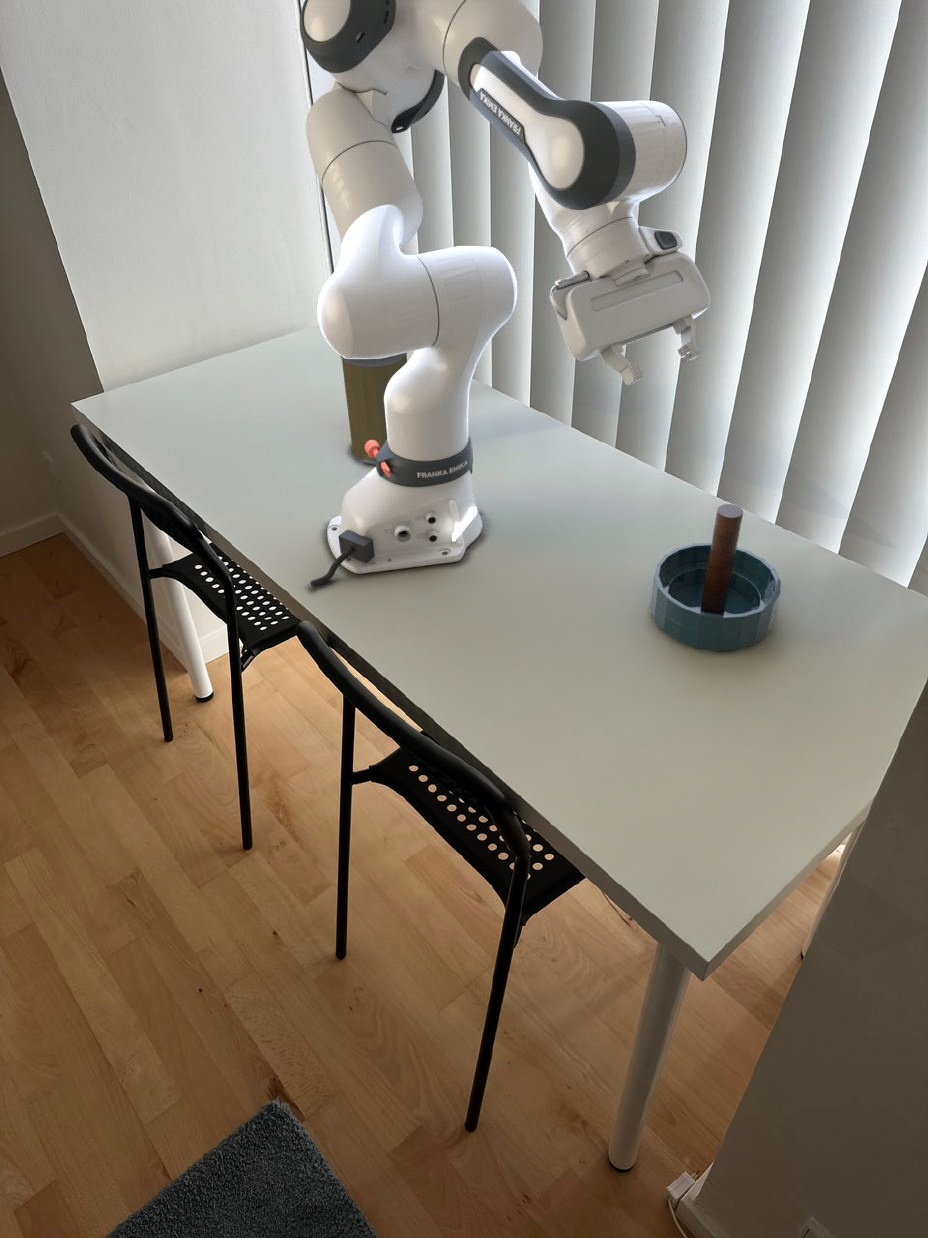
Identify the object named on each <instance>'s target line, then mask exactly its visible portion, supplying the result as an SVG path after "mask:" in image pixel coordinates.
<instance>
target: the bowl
mask: <svg viewBox="0 0 928 1238" xmlns="http://www.w3.org/2000/svg"><path fill="white" fill-rule="evenodd" d="M711 543H712V542H700V543H699V542H698V543H691V544H687V545H682V546H679V547H676V548H673V549H672V550H671V551H669V552H667V553H665V554H664V555H663V556H662V557H661V558H660V559H659V561H658V562H657V563H656V565H655V569H654V574H653V582H652V590H651V597H650V598H651V599H650V606H649V608H650V611H651V616H652V618H653V621H654V622H655V623H656V624H657V625H658V626H659V628H660V629H661V630H662V631H663V632H664V633H666V635H668V636H670V637H672V638H673V639H675V640H676V641H678V642H680V643H683V644H685V645H688V646H691V647H694V648H696V649H702V650H710V651H715V652H716V651H735V650H740V649H742V648H747V647H750V646H753V645H755V644H757V643H758V642H759V641H761V640H763V639H764V638H766V636H768V634H769V632H770V631H771V630H772V628H773V625H774V622H775V619H776V618H775V617H776V612H777V609H778V604H779V601H780V597H781V590H782V589H781V586H782V585H781V583H782V581H781V579H780V577H779V575H778V573H777V571H776V569H775V568H774V567H773V566H772V565H771V564H770V563H769V562H767V561H766V559H764V558H763V557H761V556H760V555H757V554H756V553H753V552H752V551H750V550H748V549H744V548H742V547H738V546H737V549H736V554H735V559H734V564H733V570H732V575H731V580H730V586H729V591H728V596H727V601H726V607H725V612H724V613H723V614H722V615H720V614H713V613H705V612H702V611H701V603H702V597H703V591H704V585H705V579H706V573H707V567H708V561H709V555H710V549H711Z"/></svg>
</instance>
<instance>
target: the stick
mask: <svg viewBox="0 0 928 1238" xmlns="http://www.w3.org/2000/svg"><path fill="white" fill-rule="evenodd" d="M743 516H744V510H743V508H741V507H740V506H739V505H736V504H732V503H723V504H721V505H719V506H718V507H717V509H716V515H715V520H714V524H713V525H714V526H713V532H712V538H711V542H710V543H711V549H710V555H709V561H708V567H707V573H706V579H705V585H704V591H703V597H702V603H701V611H702V612H705V613H713V614H720V615H722V614H723V613H724V612H725V607H726V601H727V596H728V591H729V586H730V580H731V575H732V570H733V564H734V559H735V554H736V549H737V547H738V542H739V537H740V532H741V528H742V521H743V518H744V517H743Z"/></svg>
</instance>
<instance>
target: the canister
mask: <svg viewBox="0 0 928 1238" xmlns="http://www.w3.org/2000/svg"><path fill="white" fill-rule="evenodd" d="M407 355H408V352H406V353H402V354H398V355H394V356H390V357H385V358H378V359H346V358H344V357H342V356H341V355H339V357H340V359H341V364H342V372H343V381H344V390H345V399H346V406H347V415H348V422H349V423H348V424H349V432H350V440H351V447H350V448H351V449H350V450H351V455H352V456H353V457H354V459H356V460H357V461H360V462H361V463H364V464H367V465H373V466H376V463H375V458H371V457H369V455H368V453H367V452H366V451H365V444H367V442H368V441H370V440H375V441H376V442H377V443H378V444H379V446H380V447H381V448H382V447H383V445H384V444H385V442H386V440H387V438H388V437H387V426H386V416H385V405H384V395H385V391H386V388H387V385H388V383H389V381H390V380H391V378H392V377H393V376H394V375H395V374H396V373H397V372H398V371H399V370H400V369H401V368H402V367H403V366H404V365H405V364H406V363H407V362H408V356H407Z"/></svg>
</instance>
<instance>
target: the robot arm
mask: <svg viewBox="0 0 928 1238" xmlns="http://www.w3.org/2000/svg"><path fill="white" fill-rule="evenodd" d="M299 34H300V37H301V40H302V43H303V45H304V46H305V49H306V50H307V53H309V55H310V56H311V58H312V59H313V60H314V61H315V63H316V64H317V65H318V67H320V68H321V69H322V70H324V71H326V72H327V73H329V74H330V75H331V76H332V77H333V78H334V79H335V80H334V82H333V86H332V88H331V90H330V91H328V92H326V93H325V92H324V94H322V95H320V96H319V97H318V98H317V99H316V100H315V101H314V103H313V104H312V105H311V107H310V108H309V111H308V112H307V115H306V118H305V119H306V120H305V121H306V122H305V134H306V140H307V144H308V148H309V153H310V157H311V161H312V164H313V167H314V170H315V173H316V176H317V179H318V183H319V184H320V187H321V189H322V191H323V195H324V196H325V198H326V201H327V203H328V207H329V208H330V211H331V214H332V217H333V219H334V222H335V225H336V228H337V231H338V233H339V237H340V244H341V245H340V246H341V250H340V257H339V261H338V264H337V266H336V268H335V270H334V271H333V273H332V274H331V276H329V278H328V279H327V280H326V281H325V283H324V285H323V286H322V289H321V291H320V294H319V297H318V300H317V301H318V302H317V321H318V324H319V328H320V331H321V333H322V336H323V337H324V339H325V341H326V342H327V344H328V346H329V347H331V349H332V350H333V351H334V352H335V353H337V355H339V356H340V355H341V356H342V357H344V358H346V359H378V358H385V357H390V356H394V355H398V354H402V353H406V352H407V353H410V352H413V354H412V355H411V357H410V358H409V360H407V363H406V364H405V365H404V366H403V367H402V368H401V369H400V370H399V371H398V372H397V373H396V374H395V375H394V376H393V377H392V378H391V380H390V381H389V383H388V385H387V388H386V391H385V395H384V405H385V416H386V426H387V437H388V438H387V440H386V442H385V444H384V445H383V447H382V448H381V447H380V446H379V444H378V443H377V442H376V441H375V440H370V441H368V442H367V444H365V451H366V452H367V453H368V455H369V457H371V458H375V463H376V465H375V467H374V468H373V469H372V470H371V471H369V472H368V473H367V474H366V475H365V476H363V477H362V478H361V479H360V480H359V481H358V482H356V483H355V484H354V485H353V486H352V487H351V488H349V490H347V491H346V492H345V494H344V496H343V499H342V504H341V510H340V515H337V516H335V517H333V518H331V519H330V520H329V523H328V525H327V532H326V533H327V534H326V535H327V542H328V546H329V548H330V551H331V552H332V555H333V556H334V558H335V560H334V561H333V563H332V564H331V566H329V567H330V568H329V570H328V571H327V573H325V574H324V575H322V577H319V578H316V579H313V580H310V585H311V587H312V588H315V587H318V586H320V585H323V584H325V583H327V582H329V581H330V580H331V579H332V578H333V577H334V576H335V573H336V571H337V569H338V568H339V566H342V567H343V568H345V569H346V570H348V571H349V572H353V573H354V574H369V573H378V572H384V571H385V572H386V571H393V570H401V569H408V568H417V567H426V566H432V565H439V564H448V563H449V564H450V563H455V562H458V561H461V560H462V559H463V557H464V555H465V552H466V549H467V548H468V547H469V546H470V545H471V544H472V543H474V542H475V541H476V539H477V538H478V537H479V536H480V535H481V532H482V530H483V519H482V517H481V515H480V514H481V513H480V511H479V509H478V506H477V501H476V497H475V492H474V488H473V482H472V481H473V480H472V474H473V466H474V465H473V464H474V449H473V444H472V443H473V442H472V438H471V435H469V404H470V403H469V402H470V400H469V399H470V389H471V383H472V379H473V376H474V373H475V370H476V368H477V365H478V363H479V361H480V359H481V357H482V354H483V352H484V351H485V349H486V347H487V346H488V344H489V342H490V341H491V340H492V338H493V337H494V336H495V334H496V333H497V332H498V331H499V330H500V329H501V328H502V326H504V325H505V324H506V323H507V322H508V321H509V320H510V319H511V317H512V315H513V313H514V311H515V308H516V305H517V301H518V300H517V299H518V281H517V278H516V274H515V271H514V268H513V266H512V265H511V263H510V261H509V260H508V259H507V258H506V256H505V255H504V254H503V253H502V252H501V251H499V249H497V248H496V247H494V246H493V247H492V246H479V245H457V246H453V247H448V248H443V249H438V250H433V251H427V252H422V253H419V254H405V253H403V252H402V251H401V250H403V249H404V248H405V247H406V246H407V245H408V244H409V243H410V242H411V240H412V239H413V238H414V237H415V235H416V234H417V232H418V231H419V229H420V227H421V224H422V221H423V216H424V205H423V204H424V203H423V198H422V196H421V193H420V191H419V189H418V187H417V184H416V182H415V181H414V178H413V175H412V174H411V171H410V169H409V167H408V165H407V163H406V161H405V158H404V156H403V154H402V152H401V150H400V147H399V145H398V144H397V141H396V139H395V137H394V135H396V134H400V133H401V134H402V133H404V132H406V131H408V130H409V129H410V128H411V126H412V125H414V124H416V123H417V122H419V121H420V120H422V119H423V118H424V117H425V116H426V115H427V114H428V113H430V111H431V110H432V109H433V108H434V107H435V105H436V104H437V102H438V100H439V98H440V97H441V94H442V92H443V89H444V85H445V78H447V79H448V80H450V81H451V82H452V83H454V84H455V85H456V86H457V87H459V88H460V89H461V91H462V93H463V94H464V96H465V98H466V99H467V100H468V101H469V103H470V104H472V106H473V107H474V108H475V110H477V111H478V112H479V113H480V115H482V116H483V117H484V118H485V119H486V120H487V122H489V123H490V124H491V125H492V126H493V127H494V128H495V129H496V130H497V131H498V132H499V133H500V134H502V135H503V137H504V138H505V139H507V140H508V142H510V143H511V144H512V145H513V146H514V147H515V148H516V149H517V150H518V151H519V152H520V154H522V155H523V156H524V158H525V159H526V160H527V162H528V172H529V178H530V181H531V184H532V187H533V190H534V193H535V196H536V197H537V198H536V199H537V201H538V203H539V205H540V207H541V209H542V212H543V213H544V216H545V218H546V220H547V222H548V225H549V226H550V228H551V229H552V230H553V232H555V233H556V235H557V236H558V237H559V238H560V241H561V243H562V246H563V251H564V256H565V258H566V261H567V263H568V264H569V265H568V266H569V267H570V269H571V271H572V273H573V275H571V276H569V277H567V278H560V279H557V280H556V281H555V282H554V283H553V286H552V287H551V289H550V292H549V301H550V304H551V306H552V308H553V309H554V311H555V313H556V317H557V321H558V324H559V327H560V331H561V333H562V337H563V339H564V341H565V343H566V346H567V348H568V351H569V353H570V355H571V356H572V357H573V358H575V359H576V360H578V361H580V362H584V361H586V360H589V359H592V358H594V357H597V356H599V355H601V357H602V359H603V362H604V363H605V364H607V366H609V367H610V368H611V369H613V370H614V371H616V372H617V373H619V375H620V376H621V379H622V380H623V383H624V384H625V385H626V386H629V385H632V384H634V383H637V382H638V381H640V380H641V379H643V377H644V374H643V371H642V370H641V368H640V365H639V363H638V362H635V363H632V362H631V361H630V360H629V359H627V358H626V357H625V355H623V354H622V353H624V348H623V347H624V346H626V345H629V344H632V343H634V342H637V341H640V340H642V339H645V338H648V337H650V336H653V335H655V334H658V333H660V332H661V333H662V332H663V331H666V330H669V329H671V328H673V330H674V332H675V334H676V335H680V343H681V346H680V347H679V348H678V349H677V352H678V354H679V356H680V357H681V360H682V362H684V363H686V362H689V361H692V360H694V359H696V358H697V357H699V356H700V354H701V350H700V347H699V345H698V343H697V341H696V339H697V337H696V329H697V326H696V325H697V323H696V322H695V319H696V318H698V317H699V316H700V315H702V314H703V313H705V311H707V310H708V309H709V308H710V305H711V294H710V291H709V288H708V286H707V284H706V283H705V280H704V279H703V278H704V277H703V276H702V274H701V272H700V271H699V269H698V266H697V265H696V263H695V262H694V260H693V259H692V258H691V256H690V255H689V254H687V253H686V252H684V251H680V250H682V248H683V246H684V240H683V238H682V236H681V233H679V232H678V231H676V230H673V229H672V230H671V229H659V228H652V227H649V226H644V225H641V226H639V224H638V222H637V220H636V217H635V215H634V208H635V207H636V206H637V205H638V204H640V203H642V202H644V201H647V200H649V199H650V198H652V197H654V196H656V195H657V194H659V193H661V192H663V191H664V190H666V189H667V188H669V187H670V186H671V185H672V184H674V182H675V181H676V180H677V179H678V177H679V176H680V174H681V173H682V171H683V169H684V167H685V163H686V158H687V155H688V154H687V153H688V136H687V132H686V127H685V125H684V122H683V120H682V118H681V115H679V113H678V112H677V111H676V110H675V108H673V107H672V106H671V105H669V104H667V103H665V102H664V101H654V100H626V101H625V100H624V101H591V100H577V99H565V98H561V97H559V96H558V95H556V94H555V93H554V92H553V91H551V90H550V89H549V87H547V86H546V85H545V84H544V83H543V82H542V81H540V80H539V79H538V78H537V74H538V72H539V69H540V67H541V64H542V58H543V50H544V44H543V43H544V42H543V41H544V40H543V39H544V38H543V34H542V28H541V25H540V23H539V21H538V19H537V18H536V17H535V15H533V13H532V12H531V11H530V10H529V9H528V8H527V6H525V5H524V4H523V3H522V2H521V1H520V0H304V2H303V4H302V7H301V9H300V15H299Z"/></svg>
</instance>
